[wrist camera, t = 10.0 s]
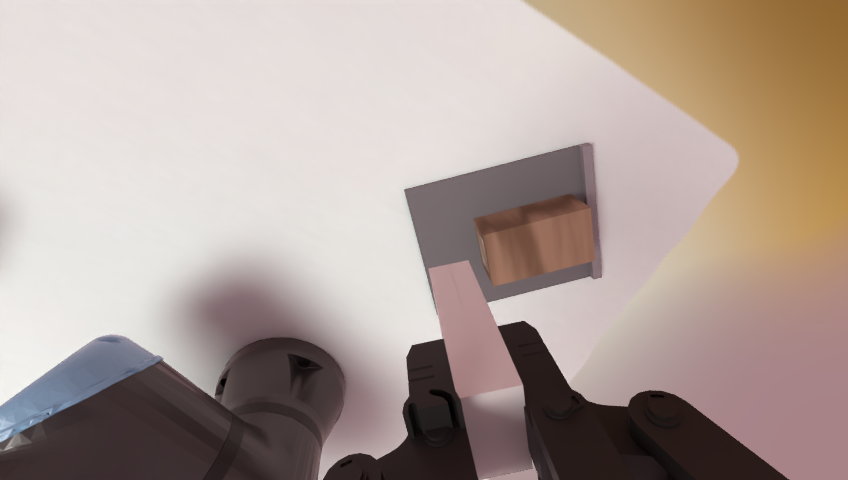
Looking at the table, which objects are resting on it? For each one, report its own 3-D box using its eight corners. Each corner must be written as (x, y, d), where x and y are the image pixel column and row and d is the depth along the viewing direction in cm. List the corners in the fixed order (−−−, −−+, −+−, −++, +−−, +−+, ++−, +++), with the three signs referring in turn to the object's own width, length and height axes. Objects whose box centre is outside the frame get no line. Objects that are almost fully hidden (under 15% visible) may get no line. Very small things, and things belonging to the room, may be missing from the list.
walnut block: (493, 286, 44) (595, 260, 44) (483, 235, 41) (590, 207, 41) (482, 265, 48) (575, 242, 48) (473, 218, 46) (570, 193, 46)
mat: (437, 313, 51) (438, 318, 50) (404, 189, 44) (404, 192, 43) (597, 272, 51) (601, 277, 50) (586, 142, 44) (592, 144, 43)
